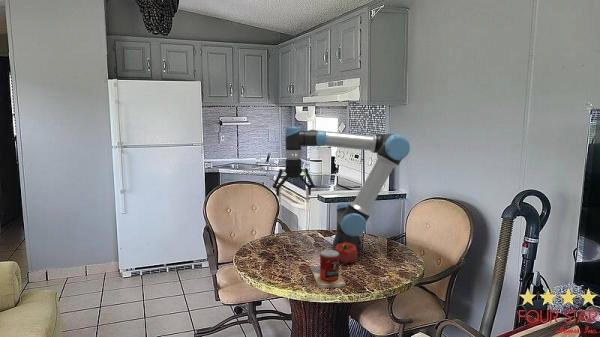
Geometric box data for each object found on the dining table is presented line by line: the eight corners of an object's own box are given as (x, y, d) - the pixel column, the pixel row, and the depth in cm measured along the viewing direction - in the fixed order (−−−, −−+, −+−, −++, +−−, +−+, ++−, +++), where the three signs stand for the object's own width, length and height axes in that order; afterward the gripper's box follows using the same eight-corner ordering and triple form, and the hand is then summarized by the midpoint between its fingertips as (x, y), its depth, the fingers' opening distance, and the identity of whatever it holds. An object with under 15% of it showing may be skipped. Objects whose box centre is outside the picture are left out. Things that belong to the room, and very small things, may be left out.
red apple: (353, 267, 192) (354, 246, 191) (331, 265, 196) (332, 244, 194) (359, 260, 202) (359, 239, 201) (338, 257, 206) (338, 237, 205)
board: (333, 267, 192) (333, 264, 192) (345, 286, 170) (345, 283, 170) (309, 268, 190) (309, 265, 190) (318, 288, 169) (318, 284, 169)
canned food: (326, 283, 170) (326, 256, 168) (316, 276, 177) (316, 251, 175) (342, 280, 173) (342, 254, 172) (331, 273, 180) (332, 248, 179)
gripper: (268, 159, 198) (268, 204, 200) (320, 159, 202) (320, 202, 204) (266, 158, 205) (267, 201, 208) (317, 157, 209) (317, 200, 212)
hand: (293, 202), depth 206 cm, fingers open, 13 cm apart
